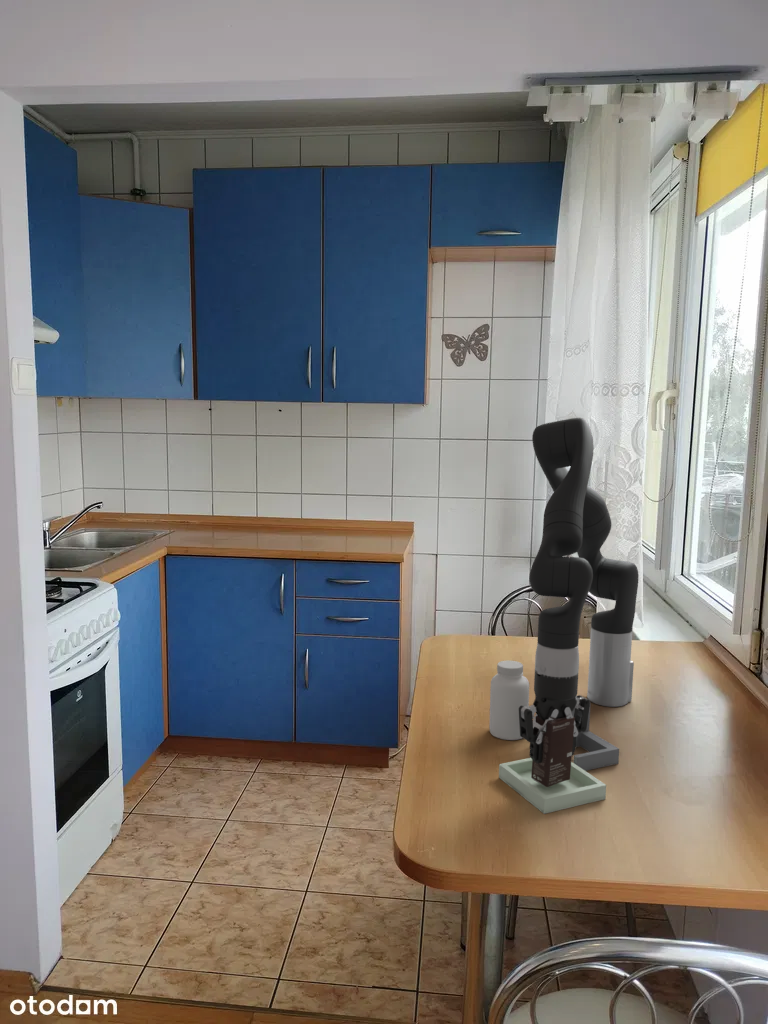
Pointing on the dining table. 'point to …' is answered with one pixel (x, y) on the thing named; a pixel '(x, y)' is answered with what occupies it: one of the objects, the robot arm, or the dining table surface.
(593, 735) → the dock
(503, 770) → the tray
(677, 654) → the dining table surface
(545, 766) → the box
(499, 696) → the pill bottle
